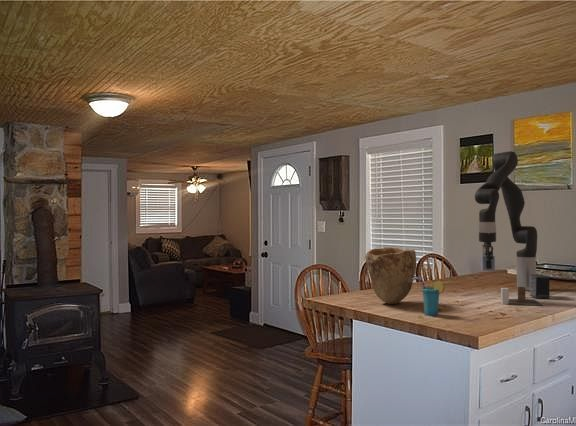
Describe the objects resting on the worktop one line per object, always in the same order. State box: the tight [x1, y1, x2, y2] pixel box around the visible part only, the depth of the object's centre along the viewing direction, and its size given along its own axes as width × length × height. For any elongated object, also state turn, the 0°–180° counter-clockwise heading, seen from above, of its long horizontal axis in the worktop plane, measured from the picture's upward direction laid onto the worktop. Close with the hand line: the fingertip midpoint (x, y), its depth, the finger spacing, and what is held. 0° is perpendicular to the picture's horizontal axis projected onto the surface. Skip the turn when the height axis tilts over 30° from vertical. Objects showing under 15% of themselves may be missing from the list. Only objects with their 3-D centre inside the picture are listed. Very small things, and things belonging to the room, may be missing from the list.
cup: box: [412, 276, 445, 317], centre depth 206 cm, size 14×8×15 cm, turn 53°
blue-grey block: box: [480, 254, 496, 272], centre depth 236 cm, size 5×5×7 cm
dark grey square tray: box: [508, 287, 544, 307], centre depth 229 cm, size 14×14×7 cm
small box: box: [529, 274, 550, 300], centre depth 242 cm, size 11×6×10 cm, turn 168°
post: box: [500, 287, 510, 306], centre depth 227 cm, size 3×3×7 cm
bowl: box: [364, 246, 417, 305], centre depth 230 cm, size 22×22×25 cm
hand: (487, 267), depth 236 cm, fingers closed on blue-grey block, 5 cm apart
